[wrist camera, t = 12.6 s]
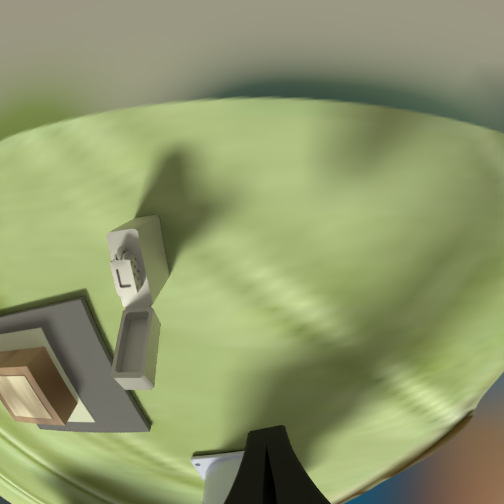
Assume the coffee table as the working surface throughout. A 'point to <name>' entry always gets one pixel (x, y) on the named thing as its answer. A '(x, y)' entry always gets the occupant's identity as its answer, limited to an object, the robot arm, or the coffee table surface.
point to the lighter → (137, 299)
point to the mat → (76, 364)
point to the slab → (34, 387)
